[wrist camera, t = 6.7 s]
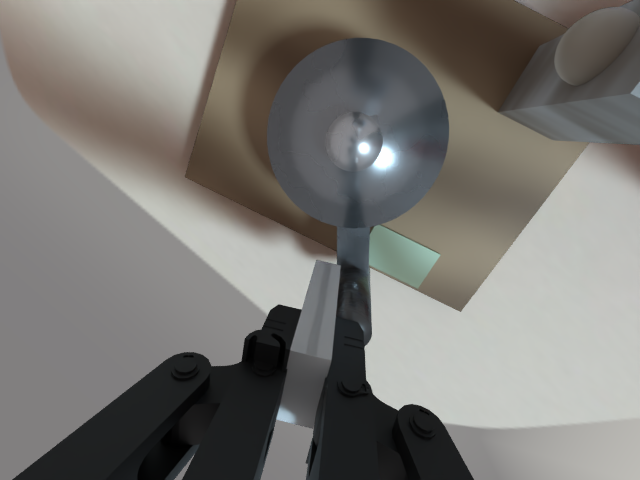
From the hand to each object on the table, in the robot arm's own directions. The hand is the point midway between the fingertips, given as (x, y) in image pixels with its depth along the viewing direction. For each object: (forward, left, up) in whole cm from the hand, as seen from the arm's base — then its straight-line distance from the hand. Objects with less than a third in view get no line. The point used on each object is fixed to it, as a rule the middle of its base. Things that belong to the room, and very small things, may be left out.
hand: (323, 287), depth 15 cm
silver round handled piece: (-5, -1, -3) cm, 6 cm away
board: (-8, -1, -5) cm, 9 cm away
